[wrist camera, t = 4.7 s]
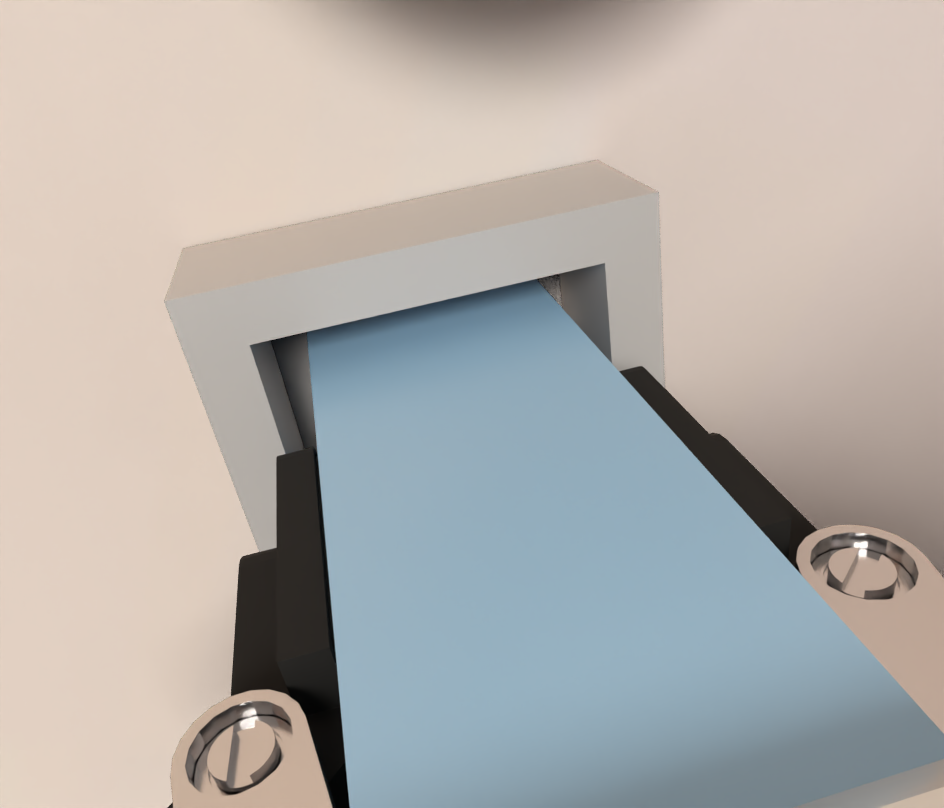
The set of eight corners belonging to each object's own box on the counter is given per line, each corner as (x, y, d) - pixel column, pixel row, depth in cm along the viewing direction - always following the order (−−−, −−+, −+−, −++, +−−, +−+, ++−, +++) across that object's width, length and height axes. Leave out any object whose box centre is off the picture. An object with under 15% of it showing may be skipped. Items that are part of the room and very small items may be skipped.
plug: (521, 263, 14) (1241, 1065, 4) (544, 444, 16) (1049, 1301, 6) (304, 312, 14) (402, 1400, 3) (356, 493, 16) (521, 1525, 5)
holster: (597, 159, 14) (658, 191, 11) (620, 488, 17) (669, 560, 15) (182, 248, 13) (163, 301, 10) (298, 574, 16) (302, 664, 14)
